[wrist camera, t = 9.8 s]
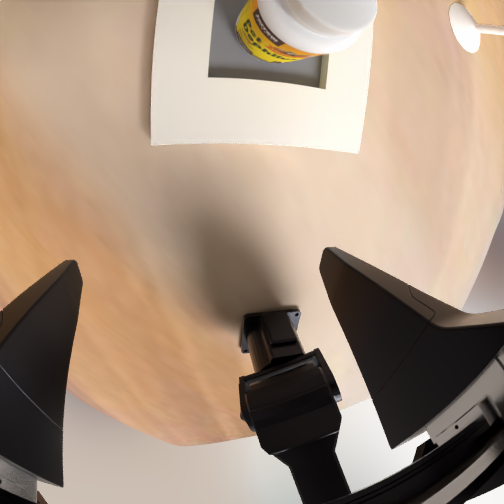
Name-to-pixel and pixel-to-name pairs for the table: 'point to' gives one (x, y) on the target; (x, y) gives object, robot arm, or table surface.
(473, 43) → the champagne flute
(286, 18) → the supplement bottle
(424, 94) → the table surface
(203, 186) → the table surface
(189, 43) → the socket plate
